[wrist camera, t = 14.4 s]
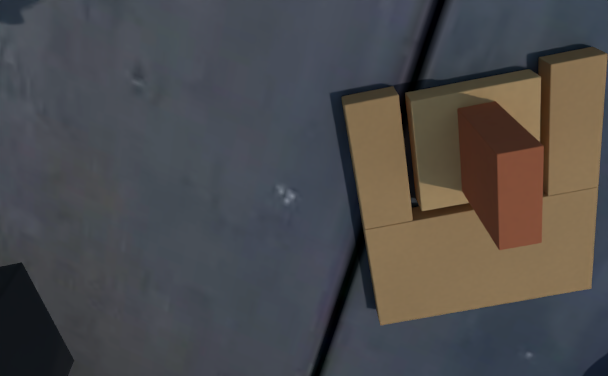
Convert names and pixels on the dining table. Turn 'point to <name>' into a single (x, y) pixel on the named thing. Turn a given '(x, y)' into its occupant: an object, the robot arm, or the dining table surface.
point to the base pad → (462, 218)
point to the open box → (482, 152)
